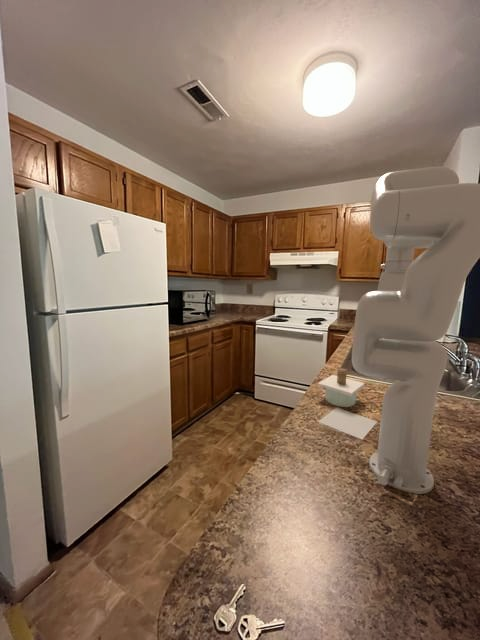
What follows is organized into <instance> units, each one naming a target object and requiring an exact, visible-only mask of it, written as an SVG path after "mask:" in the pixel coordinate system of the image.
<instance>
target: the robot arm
mask: <svg viewBox="0 0 480 640" xmlns="http://www.w3.org/2000/svg"><path fill="white" fill-rule="evenodd" d="M369 226H370V232H371V234H372V236H373V238H374V239H376V240H378V241H381V242H383V245H385V247H386V254H385V255H386V257H385V262H384V263H383V264H380V266H379V267H380V269H383V270H384V271H381V274H380V277H379V281H378V286H377V290H372V291H368V292H366V293H365V294H363V295H362V296H361V297H360V299H359V301H358V303H357V307H356V310H355V311H356V312H355V317H354V327H353V328H354V329H353V341H352V346H351V347H352V349H351V363H352V367H353V369H354V370H355V371H356V372H357V373H358V374H360V375H363V376H368V377H375V378H383V379H387V380H394V381H393V383H392V384H391V385H390V386H388V388H387V389H386V390H385V392H384V394H383V398H382V404H381V415H380V424H379V433H378V436H379V437H378V445H377V451H376V452H374V453H372V454H371V455H370V457H369V458H368V464H369V468H370V470H371V471H372V473H373V474H374V475H375V476H376V477H377V482H378V483H379V484H380V485H381V486H387V485H389V486H391V487H393V488H395V489H398V490H400V491H403V492H406V493H407V492H408V493H413V494H415V495H422V494H423V495H424V494H428V493H429V492H432V490H433V489H434V486H435V479H434V475H433V474H432V472H431V471H430V470H429V469H428V468H427V467H428V459H429V452H430V445H431V436H432V429H433V422H434V415H435V409H436V402H437V396H438V393H439V392H438V391H439V388H440V384H441V381H442V378H443V376H444V373H445V371H446V366H447V362H448V355H447V351H446V349H445V347H444V346H443V345H442V344H441V343H440V342H438V340H441V339H442V338H443V337H444V336H445V335H446V334H447V332H448V330H449V328H450V326H451V323H452V320H453V317H454V314H455V311H456V309H457V307H458V306H457V305H458V303H459V300H460V297H461V295H462V291H463V288H464V284H465V282H466V279H467V277H468V275H469V274H470V272H471V271H472V269H473V267H474V266H475V265H476V263H477V262H478V260H479V259H480V183H477V182H473V183H472V182H469V183H468V182H466V183H465V182H464V183H460V178H459V175H458V174H457V172H456V171H454V170H453V169H451V168H449V167H444V166H430V167H429V166H427V167H422V168H414V169H413V168H412V169H405V170H396V171H391V172H387V173H385V174H383V175H382V176H381V177H380V178H378V180H377V182H376V184H375V185H374V187H373V189H372V194H371V198H370V215H369ZM415 249H425V250H424V251H423V252H421V254H419V255H418V256H417V257H415V259H414V255H415Z"/></svg>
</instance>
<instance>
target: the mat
mask: <svg viewBox="0 0 480 640" xmlns="http://www.w3.org/2000/svg"><path fill="white" fill-rule="evenodd" d="M317 422H318V423H320V424H321V425H325V426H327V427H330V428H331V429H334V430H337V431H340V432H342V433H344V434H347V435H349V436H352V437H355V438H357V439H360V440H364V439H365V437H366V436H367V435H368V434H369V433H370V432H371V430H372V429H373V428H374V426H376V424H378V420H377V421H376V420H373V419H371V418H368V417H366V416H362V415H360V414H357V413H353V412H351V411H348V410H344V409H341V408H339V407H338V406H336V407H335V408H334V409H332V410H331V411H329V413H327V414H326V415H324V417H322V418H321V419H320V420H318V421H317Z"/></svg>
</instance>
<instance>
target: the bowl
mask: <svg viewBox="0 0 480 640" xmlns="http://www.w3.org/2000/svg"><path fill="white" fill-rule="evenodd" d="M357 393H358V392H356V393H355V394H354V395H352V396H350V395H346V394H343V393H340V392H336V391H333V390H330V389H327V388H325V395H324V396H325V401H326V402H327V403H329V404H331V405H333V406H336V407H343V408H345V407H346V408H348V407H353V406H354V405H355V404H357V403H356V401H357Z"/></svg>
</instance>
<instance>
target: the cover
mask: <svg viewBox="0 0 480 640" xmlns="http://www.w3.org/2000/svg"><path fill="white" fill-rule="evenodd" d="M347 373H348V370H347V369H346V368H341V367H340V368H338V369H337V375H335V374H332V375H330V376H328V377H326V378H324V379H322V380H321V381H318V382H317V386H318V387H321V388H324V389H326V388H327V389H330V390H333V391H336V392H340V393H343V394H346V395H350V396H352V395H354V394H355V393H356V392H357V393H358V392H359V391H360V390H361V389H363V388H364V387H366V383H365V382H362V381H358V380H354V379H350V378H347V375H348V374H347ZM357 393H356V394H357Z"/></svg>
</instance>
